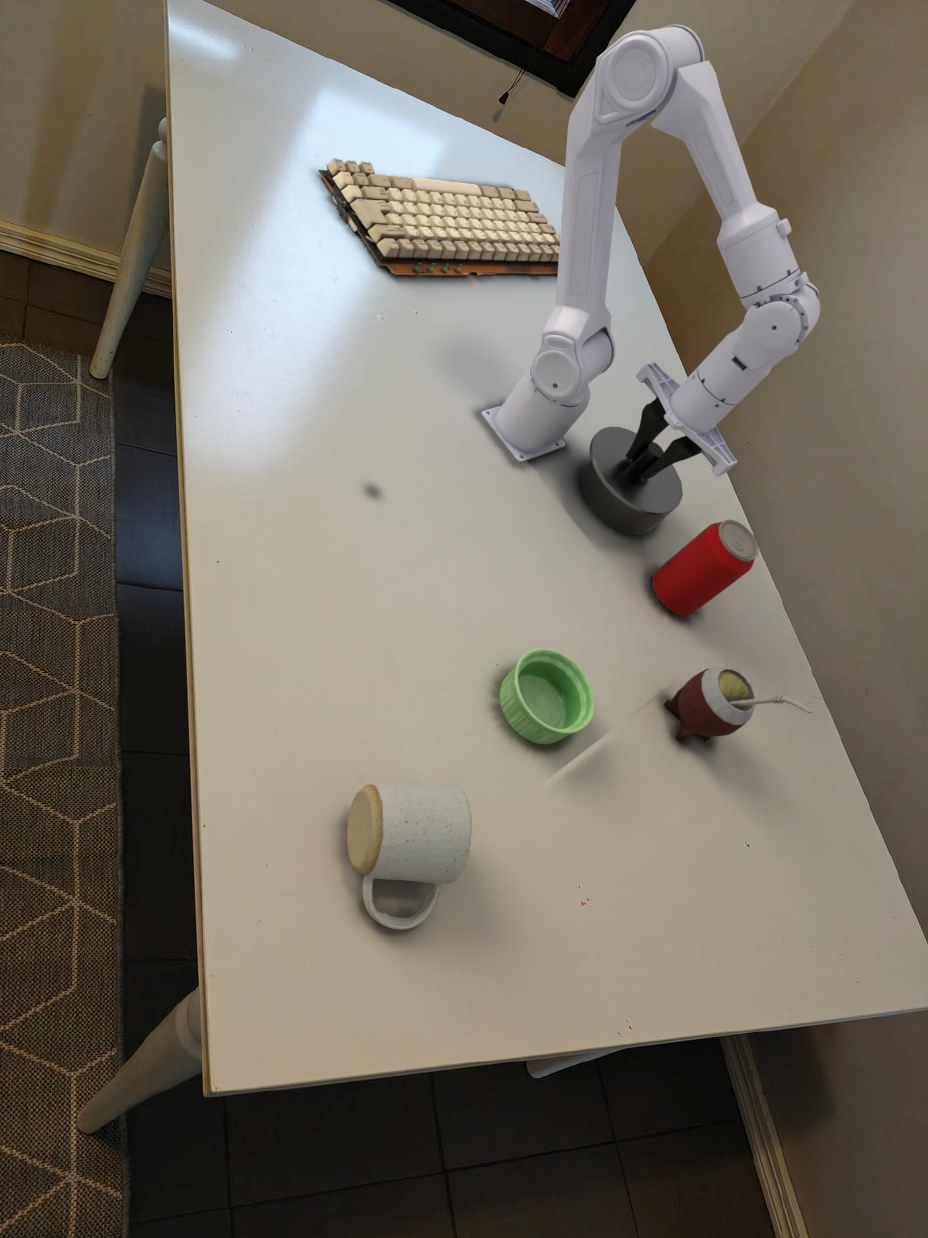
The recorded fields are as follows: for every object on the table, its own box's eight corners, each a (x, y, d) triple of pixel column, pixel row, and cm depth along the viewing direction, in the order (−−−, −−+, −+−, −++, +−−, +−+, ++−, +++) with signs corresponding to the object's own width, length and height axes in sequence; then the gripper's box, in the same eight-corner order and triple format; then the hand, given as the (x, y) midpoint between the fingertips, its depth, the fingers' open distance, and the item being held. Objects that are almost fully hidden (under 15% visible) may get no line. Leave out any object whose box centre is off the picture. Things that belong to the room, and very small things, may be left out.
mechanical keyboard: (510, 188, 137) (520, 170, 134) (573, 276, 132) (585, 259, 130) (310, 174, 113) (319, 151, 110) (379, 280, 108) (390, 259, 106)
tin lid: (628, 423, 106) (651, 397, 102) (691, 502, 103) (717, 479, 100) (567, 444, 97) (590, 417, 94) (634, 530, 95) (660, 506, 92)
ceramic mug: (339, 798, 70) (375, 765, 64) (429, 803, 73) (471, 772, 68) (344, 933, 65) (383, 911, 59) (441, 931, 68) (487, 910, 62)
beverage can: (696, 590, 106) (765, 535, 97) (689, 628, 102) (761, 575, 93) (652, 561, 105) (718, 504, 96) (644, 599, 101) (712, 542, 92)
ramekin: (476, 705, 81) (499, 685, 78) (519, 651, 87) (542, 630, 84) (545, 769, 81) (571, 751, 78) (584, 711, 87) (609, 692, 84)
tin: (615, 452, 113) (640, 425, 109) (670, 520, 111) (697, 495, 107) (563, 473, 106) (588, 445, 102) (621, 546, 104) (648, 520, 100)
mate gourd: (671, 680, 96) (767, 613, 85) (723, 725, 96) (826, 665, 85) (650, 724, 91) (750, 660, 80) (706, 772, 91) (813, 714, 80)
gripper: (655, 337, 88) (581, 424, 98) (745, 444, 85) (659, 523, 95) (690, 329, 92) (616, 413, 102) (776, 430, 90) (691, 507, 100)
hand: (639, 465), depth 99 cm, fingers closed on tin lid, 2 cm apart
